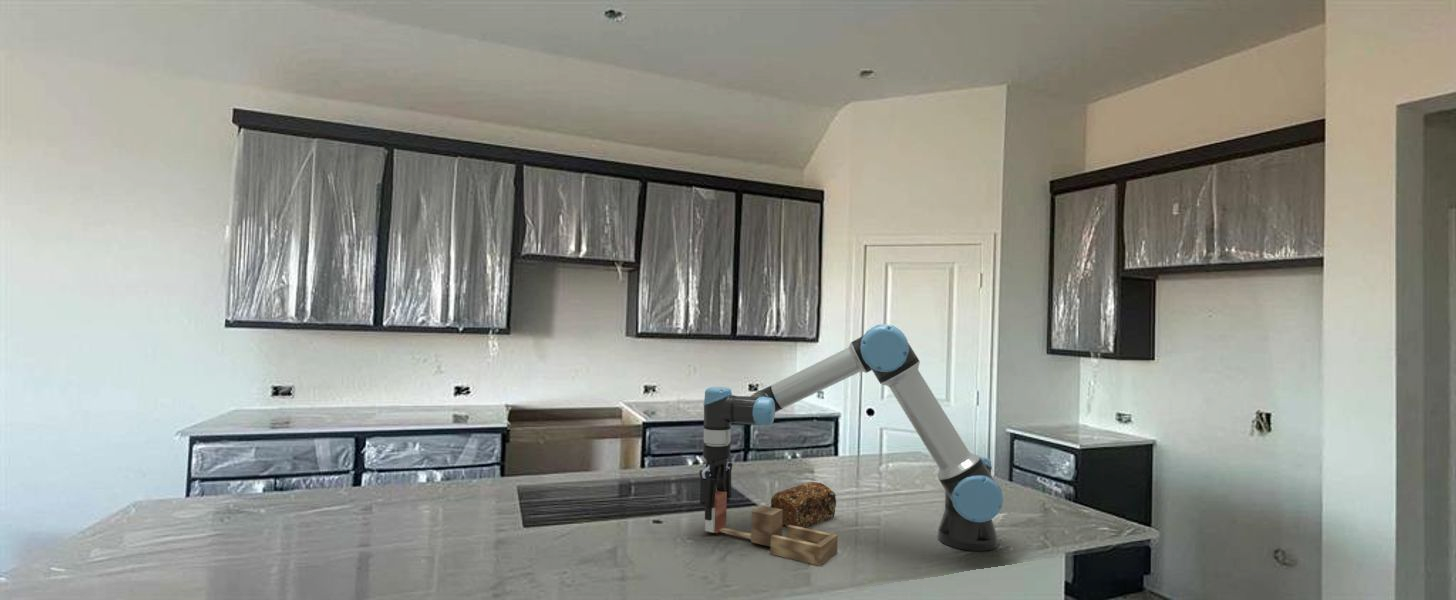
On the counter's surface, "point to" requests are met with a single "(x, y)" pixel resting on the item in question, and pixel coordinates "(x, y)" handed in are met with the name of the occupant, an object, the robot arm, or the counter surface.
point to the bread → (805, 504)
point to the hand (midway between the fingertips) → (715, 528)
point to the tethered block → (762, 524)
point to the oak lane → (805, 545)
